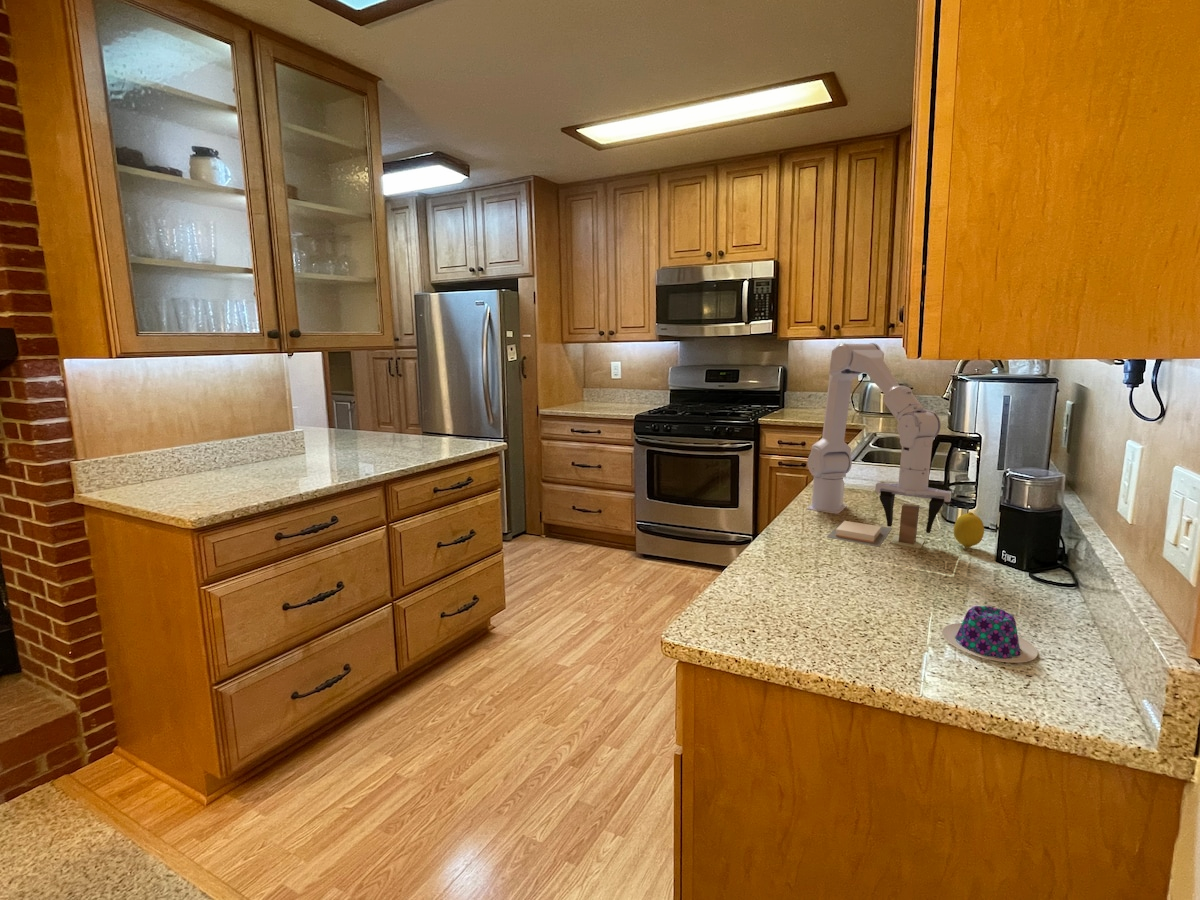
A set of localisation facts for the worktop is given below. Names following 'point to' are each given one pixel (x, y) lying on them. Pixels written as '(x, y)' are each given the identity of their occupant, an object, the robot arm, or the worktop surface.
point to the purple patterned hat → (990, 635)
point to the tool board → (917, 543)
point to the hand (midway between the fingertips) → (908, 528)
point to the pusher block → (908, 523)
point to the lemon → (968, 530)
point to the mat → (877, 542)
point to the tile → (858, 531)
